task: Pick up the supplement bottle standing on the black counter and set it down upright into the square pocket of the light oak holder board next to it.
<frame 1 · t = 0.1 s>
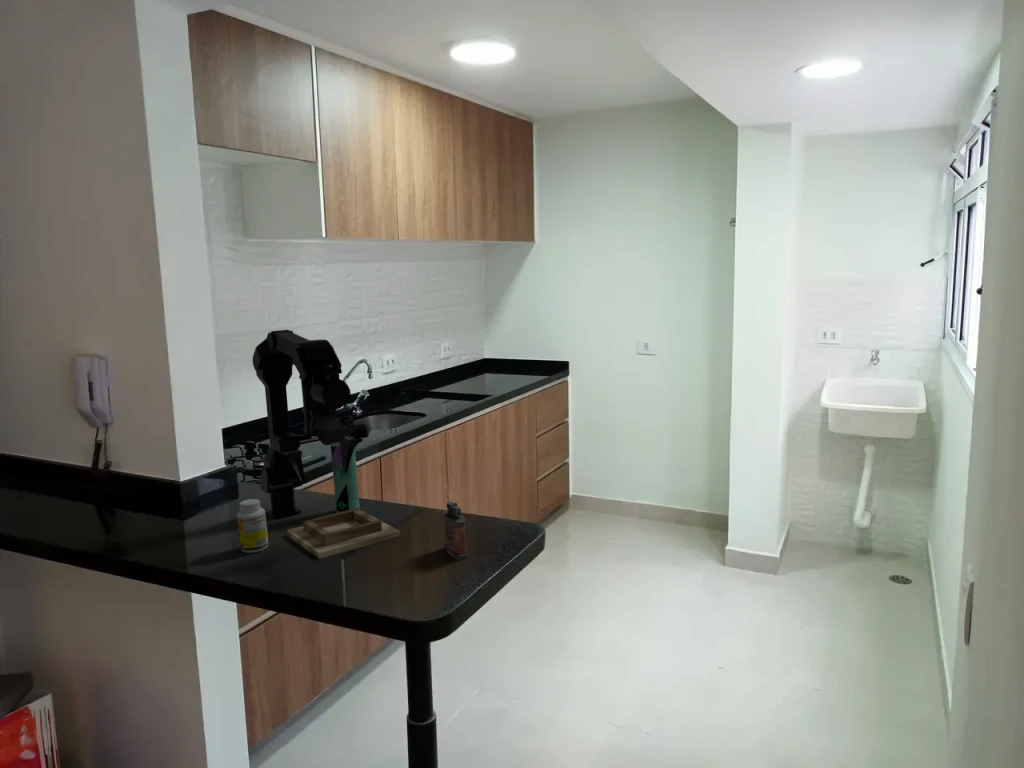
hand: (324, 477, 153), 15 cm above the counter, tool pointing down, fingers open, 9 cm apart
lighter: (456, 553, 148), on the counter
spray can: (348, 512, 177), on the counter
holder board: (342, 535, 161), on the counter
supplement bottle: (254, 549, 156), on the counter
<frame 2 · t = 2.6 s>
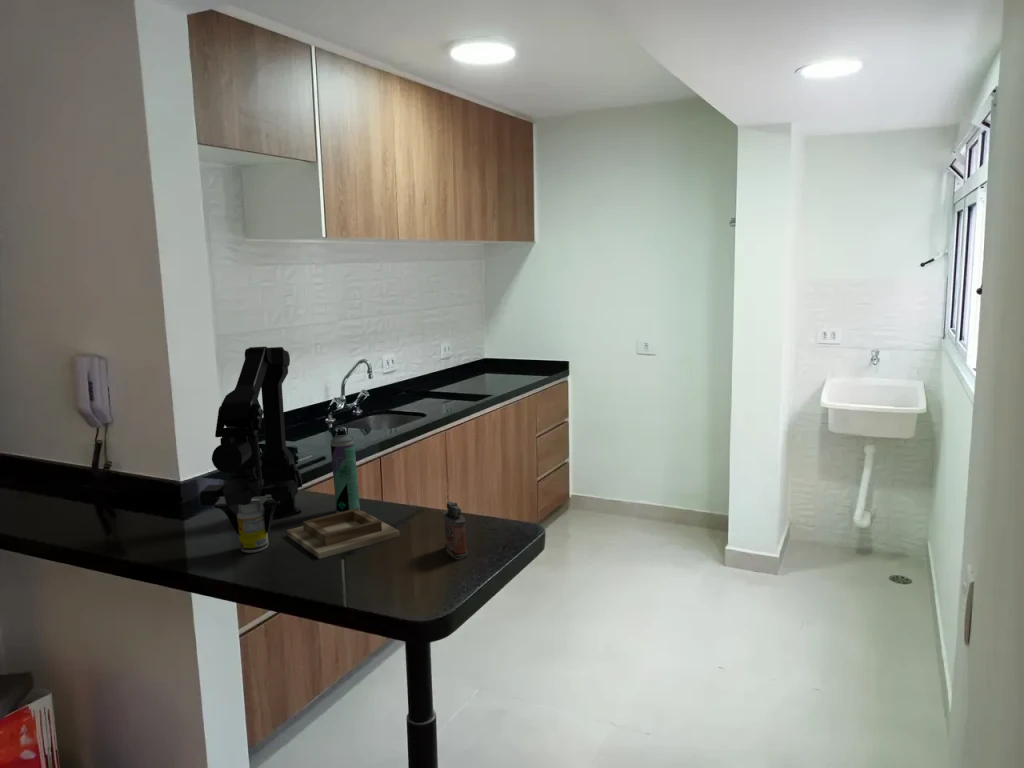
hand: (253, 532, 155), 4 cm above the counter, tool pointing down, fingers closed on supplement bottle, 5 cm apart
supplement bottle: (254, 549, 156), on the counter, touching gripper
everything else where it was.
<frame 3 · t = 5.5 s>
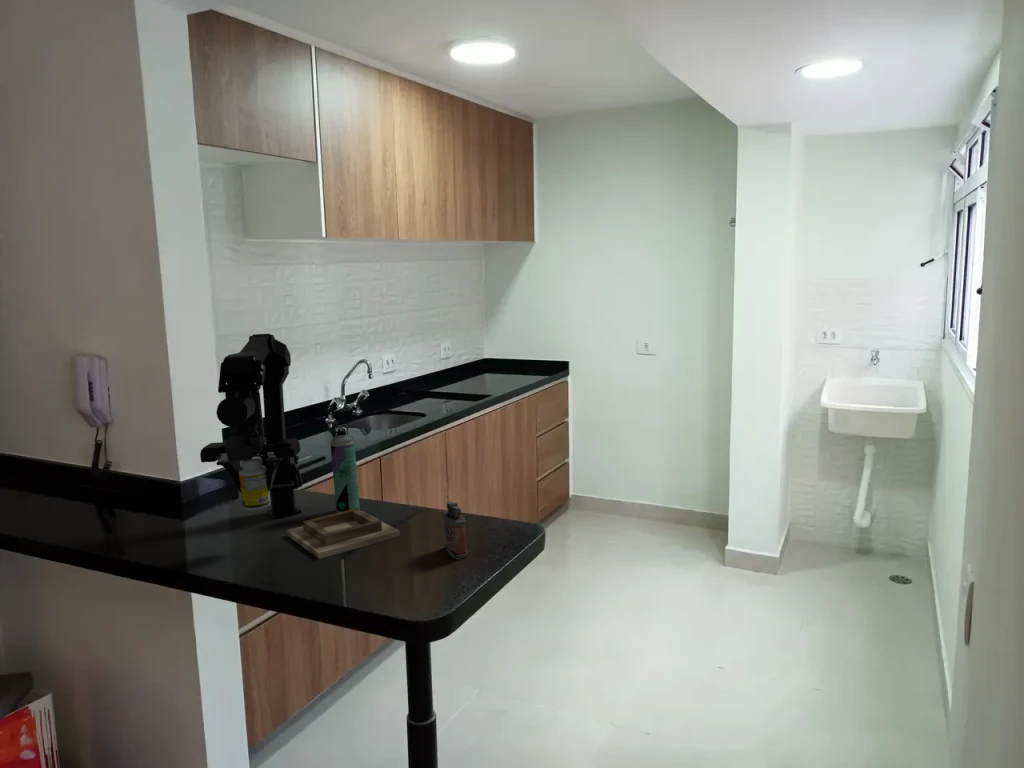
hand: (255, 490, 154), 12 cm above the counter, tool pointing down, fingers closed on supplement bottle, 5 cm apart
supplement bottle: (257, 508, 155), point 9 cm above the counter, touching gripper
everything else where it was.
when the fingers open (6 cm above the counter, at t = 8.8 s): supplement bottle drops 1 cm, resting on holder board.
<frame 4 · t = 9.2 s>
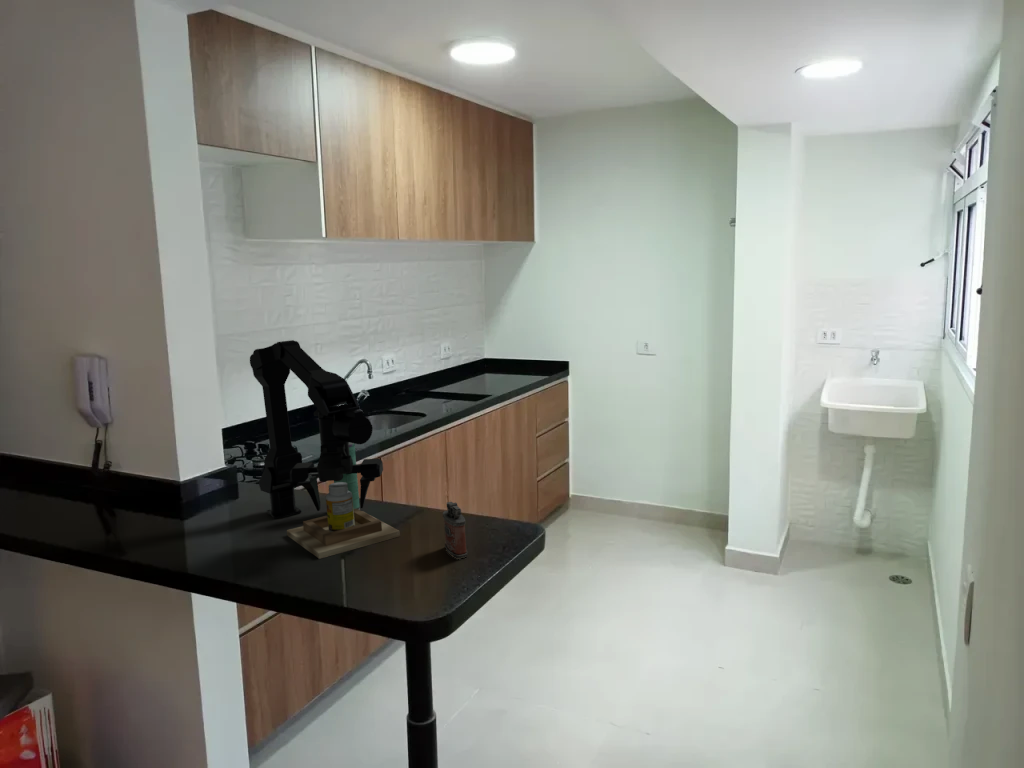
hand: (340, 509, 160), 6 cm above the counter, tool pointing down, fingers open, 9 cm apart
supplement bottle: (342, 531, 161), point 1 cm above the counter, touching holder board
everything else where it was.
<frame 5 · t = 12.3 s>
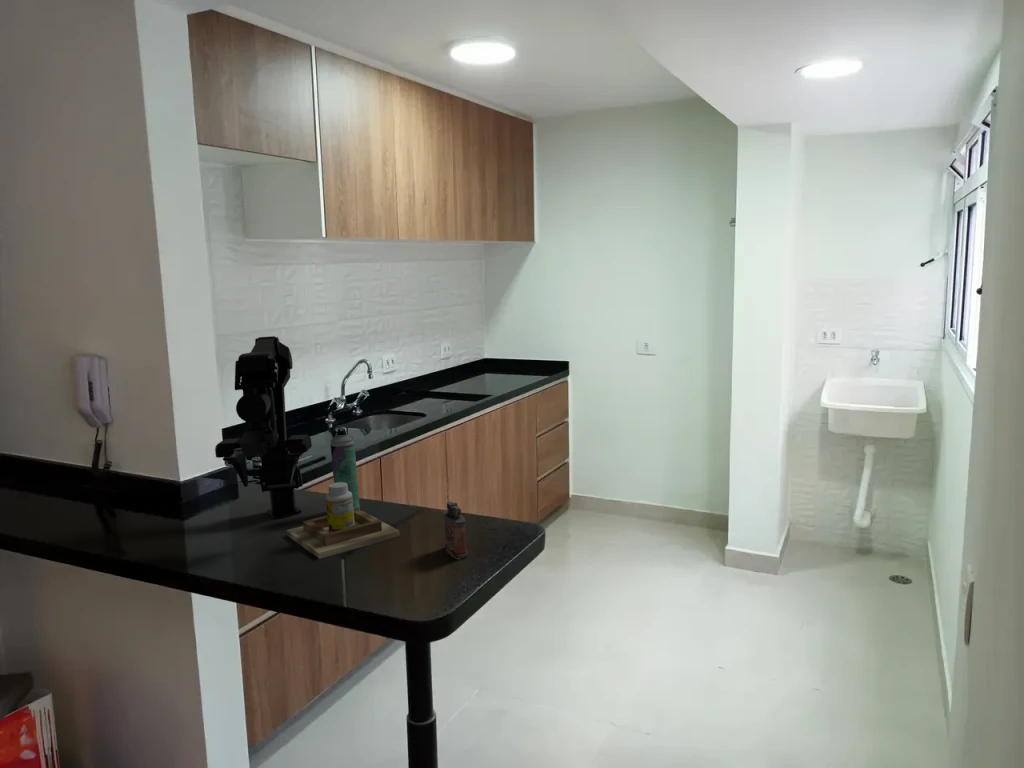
hand: (268, 485, 159), 12 cm above the counter, tool pointing down, fingers open, 9 cm apart
nothing on the counter moved.
at the end: supplement bottle 0.1 cm off-centre on the holder board, point 1.0 cm above the holder board's base; supplement bottle tilted 0°; the gripper is holding nothing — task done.
